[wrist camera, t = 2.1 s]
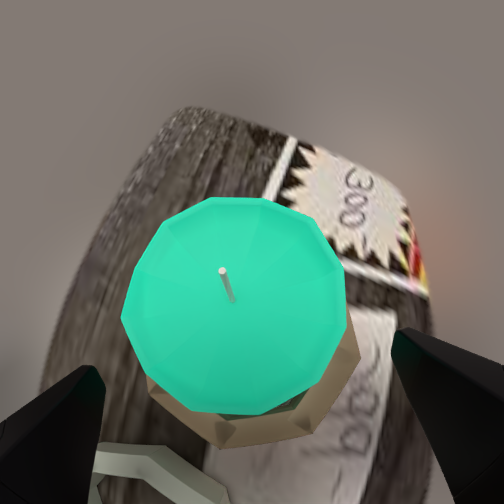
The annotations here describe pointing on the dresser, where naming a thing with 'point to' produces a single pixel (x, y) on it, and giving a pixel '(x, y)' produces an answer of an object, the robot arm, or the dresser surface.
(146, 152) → the dresser surface
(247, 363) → the candle
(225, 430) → the socket
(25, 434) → the robot arm
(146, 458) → the socket
